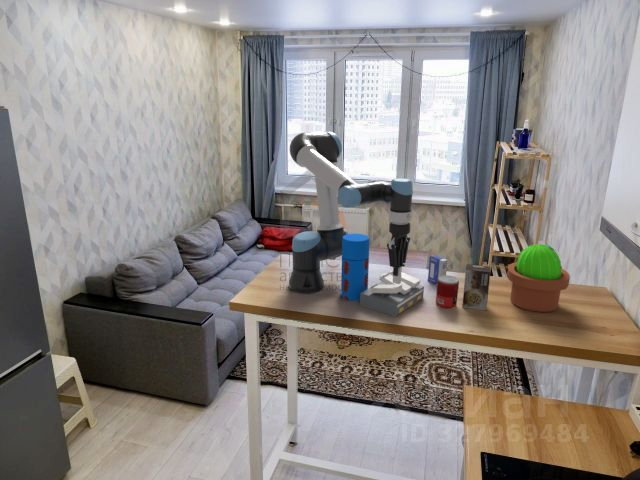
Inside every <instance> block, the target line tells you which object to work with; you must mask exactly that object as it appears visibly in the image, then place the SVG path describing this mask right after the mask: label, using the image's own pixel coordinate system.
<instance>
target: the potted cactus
mask: <svg viewBox="0 0 640 480" xmlns="http://www.w3.org/2000/svg"><path fill="white" fill-rule="evenodd" d="M517 256H518V257H516V258H517V261H515V262H512V263H510V264H509V265H508V267H507V274H506V276H507V279H508V280H509V281H510V282H511V284H512V285H511V290H510V296H509V297H510V298H509V299H510V301H511V303H512V304H513V305H515V306H517V307H518V308H521V309H523V310H527V311H530V312H540V313H549V312H554V311H555V310H557V309H558V307H559V301H560V296H561V291H564V290H566V289H567V288H568V287H569V285H570V278H571V275H570V274H569V272H568V271H566V270H565V269H563V266H562V264H561V262H562V261H561V260H560V256H559V254H558V251H557V250H555V249H554V248H553V247H552V246H550V245H549V244H547V243H545V244H542V243H537V244H535V243H534V244H530V245H528V246H526V247H525V248H524V249H523V250H521V251H520V252H519V254H518V255H517Z"/></svg>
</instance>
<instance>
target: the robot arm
mask: <svg viewBox="0 0 640 480" xmlns="http://www.w3.org/2000/svg"><path fill="white" fill-rule="evenodd" d="M342 150H343V145H342V141H341V139H340V138H339V136H338V135H337V134H336V133H335V132H333V131H326V130H325V131H313V132H310V131H309V132H301V133H299V134H296V135H295V136H294V137H293V138H292V140H291V142H290V144H289V155H290V157H291V160H293V162H295V163H296V165H298V166H299V167H300V168H305V169H306V170H308V171H309V172H310V173H311V174H312V175H314V179H315V189H316V198H317V207H318V210H317V211H318V218H319V225H318V227H316V231H314V230H311V231H310V230H309V231H307V230H306V231H301V232H300V233H297V234H295V235H294V236H293V238H292V245H291V249H292V271H291V274H290V278H289V280H288V288H289V290H291V291H293V292H295V293H299V294H313V293H318V292H320V291H322V290H324V288H325V280H324V278H323V275H322V272H321V262H322V261H326V260H330V259H334V258H339V257H342V239H343V236H344V235H347V234H349V231H347V229H345V228H344V225H343V224H342V223H341V222H340V221H341V220H340V214H339V204H340V205H341V206H342V207H344V208H354V207H360V206H364V205H369V204H370V205H371V204H375V203H385V204H389V221H390V222H389V225H388V231H389V232H388V233H390V234H391V238H390V243H387V244H386V247H387V249H388V250H387V251H388V260H389V261H388V262H389V267H391V268H393V269H392V270H393V283H396V284H400V283H401V273H402V272H403V271H402V270H403V267H405V265H406V261H407V255H408V250H409V244H410V242H411V237H409V236H408V234H410V233H411V223H410V222H411V219H412V205H413V204H412V202H413V194H414V193H413V186H414V185H413V181H412V180H411V179H410V178H403V177H402V178H400V177H398V178H392V180H391V182H388V181H383V180H381V179H371V180H369V181H368V182H367V183H366V182H364V183H358V182H356V181H355V180H354V179H352V178H351V177H350V176H348V175H347V173H344V172H343V171H342V170H341V169H339V167H337V166H336V165H337V164H338V158H339V157H340V156H341V155H342Z"/></svg>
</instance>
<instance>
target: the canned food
mask: <svg viewBox="0 0 640 480" xmlns="http://www.w3.org/2000/svg"><path fill="white" fill-rule="evenodd" d="M459 284H460V279H459V278H458V277H456V276H452V275H447V274H446V275H443V276H439V277H438V282H437V285H436V293H435V294H436V295H435V303H436V306H438V307H439V308H442V309H454V308H455V307H456V306H457V305H458V294H459V287H460V285H459Z"/></svg>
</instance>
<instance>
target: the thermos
mask: <svg viewBox="0 0 640 480" xmlns="http://www.w3.org/2000/svg"><path fill="white" fill-rule="evenodd" d="M370 242H371V241H370V237H369V236H368V235H367V234H364V233H348V234H347V235H344V236H343V239H342V255H341V279H340V281H341V282H340V283H341V285H340V286H341V287H340V288H341V289H340V290H341V297H342V298H344V299H345V300H349V301H354V302H355V301H360V293H361V292H363V291H365V290H367V289H369V265H370V263H369V262H370Z"/></svg>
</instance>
